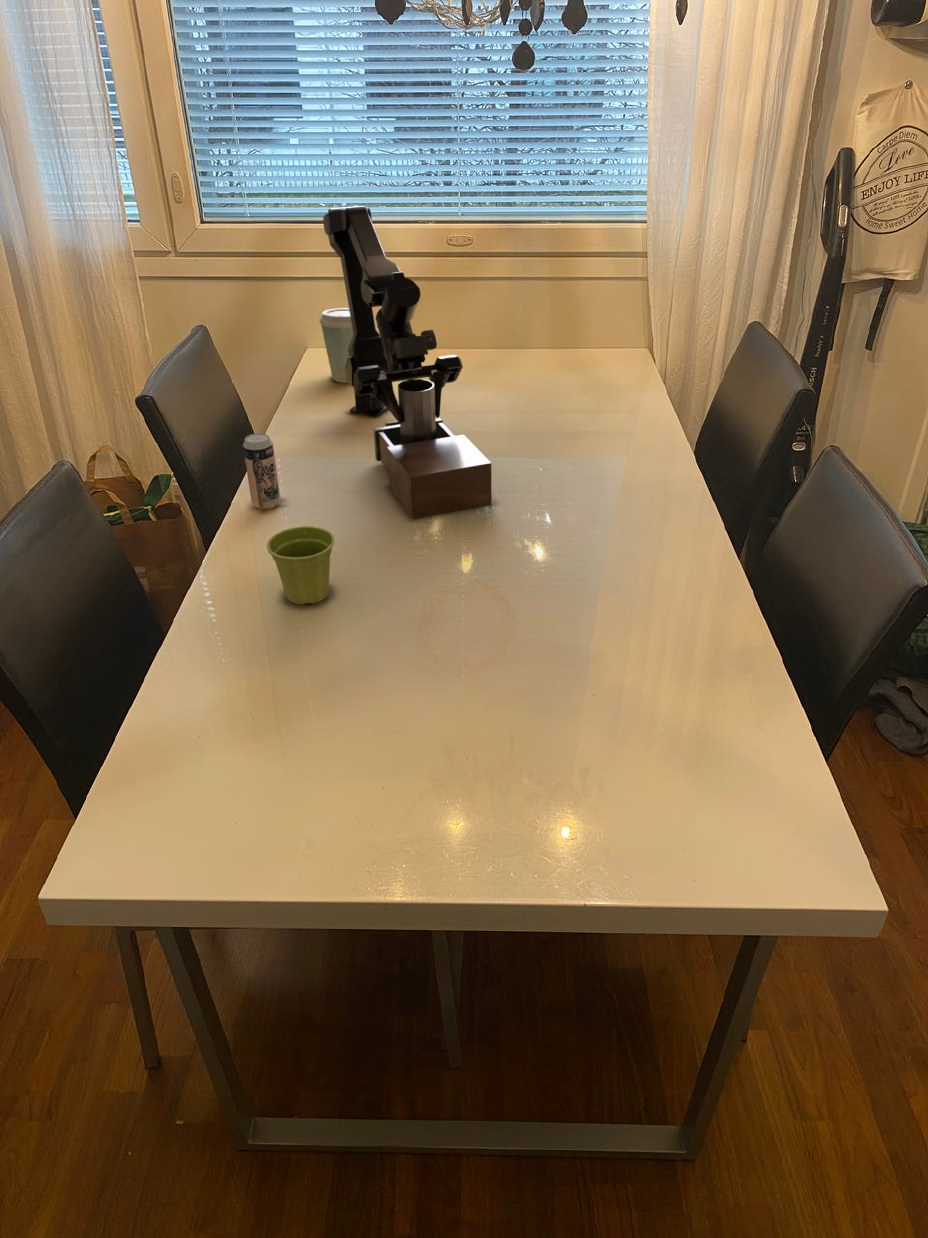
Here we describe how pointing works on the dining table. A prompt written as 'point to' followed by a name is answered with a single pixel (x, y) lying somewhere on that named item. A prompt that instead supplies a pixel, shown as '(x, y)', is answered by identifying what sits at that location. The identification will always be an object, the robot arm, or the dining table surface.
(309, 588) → the plant pot
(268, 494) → the beer can
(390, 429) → the drawer
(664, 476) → the dining table surface
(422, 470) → the cabinet
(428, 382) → the tapered cup
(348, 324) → the disposable coffee cup
